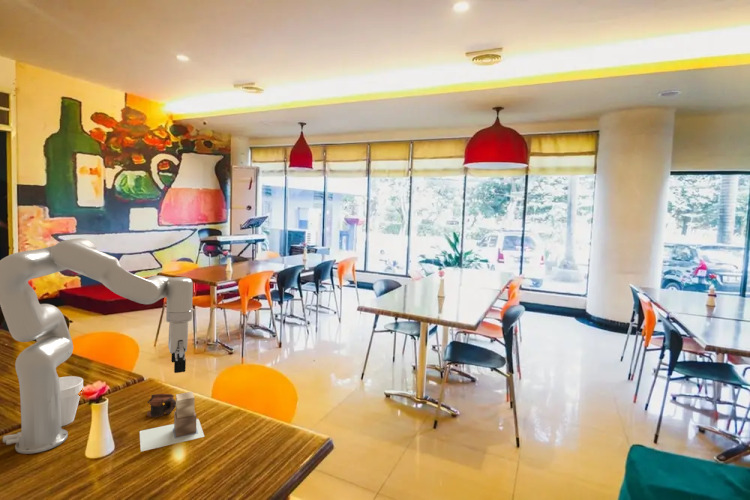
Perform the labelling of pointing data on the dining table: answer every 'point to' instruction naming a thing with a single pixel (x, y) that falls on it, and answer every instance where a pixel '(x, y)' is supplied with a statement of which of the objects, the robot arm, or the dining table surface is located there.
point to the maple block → (184, 404)
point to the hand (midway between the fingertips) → (178, 366)
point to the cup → (69, 397)
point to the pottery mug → (161, 405)
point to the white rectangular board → (165, 436)
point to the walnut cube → (184, 425)
